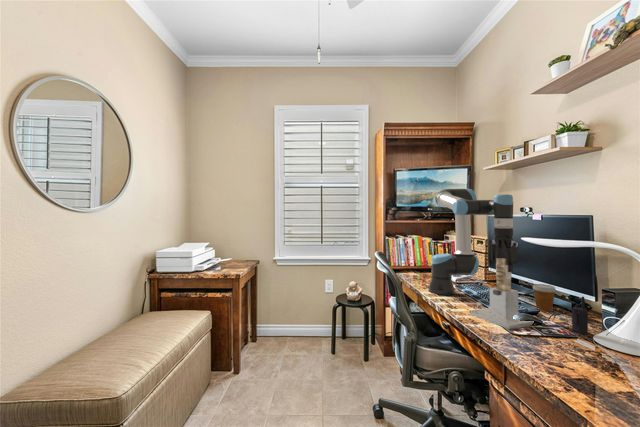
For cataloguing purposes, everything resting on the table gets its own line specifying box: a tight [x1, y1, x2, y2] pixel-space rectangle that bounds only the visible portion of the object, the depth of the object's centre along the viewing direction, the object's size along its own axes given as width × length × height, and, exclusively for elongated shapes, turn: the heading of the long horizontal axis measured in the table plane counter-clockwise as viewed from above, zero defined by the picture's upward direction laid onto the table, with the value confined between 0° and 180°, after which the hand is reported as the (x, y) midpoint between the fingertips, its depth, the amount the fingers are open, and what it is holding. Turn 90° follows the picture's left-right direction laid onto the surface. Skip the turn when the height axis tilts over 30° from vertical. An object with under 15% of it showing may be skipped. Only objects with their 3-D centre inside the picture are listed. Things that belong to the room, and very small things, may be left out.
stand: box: [469, 286, 541, 330], centre depth 135 cm, size 20×20×14 cm
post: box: [495, 257, 512, 291], centre depth 135 cm, size 4×4×24 cm
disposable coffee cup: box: [532, 283, 557, 312], centre depth 147 cm, size 10×10×12 cm
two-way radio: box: [571, 296, 589, 335], centre depth 119 cm, size 6×4×15 cm
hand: (503, 277), depth 135 cm, fingers closed on post, 4 cm apart
